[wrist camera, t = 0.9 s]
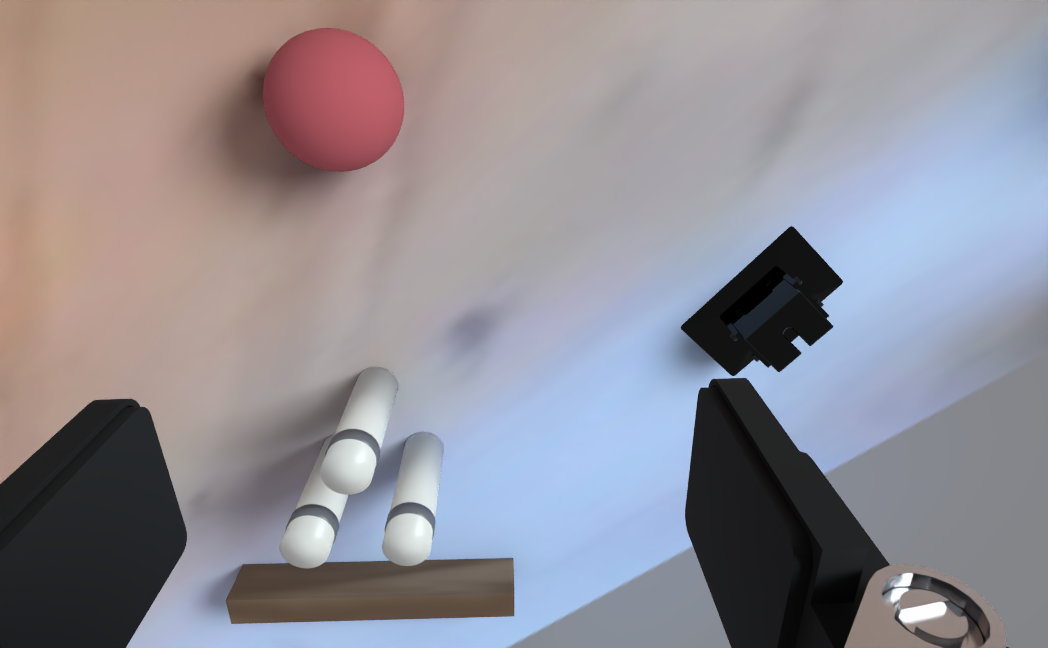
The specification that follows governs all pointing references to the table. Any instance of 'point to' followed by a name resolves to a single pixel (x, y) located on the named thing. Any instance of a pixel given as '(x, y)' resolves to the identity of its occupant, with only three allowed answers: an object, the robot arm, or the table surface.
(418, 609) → the back wall
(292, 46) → the ball
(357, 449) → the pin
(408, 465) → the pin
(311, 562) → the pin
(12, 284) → the table surface
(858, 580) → the robot arm
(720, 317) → the black boxy piece
